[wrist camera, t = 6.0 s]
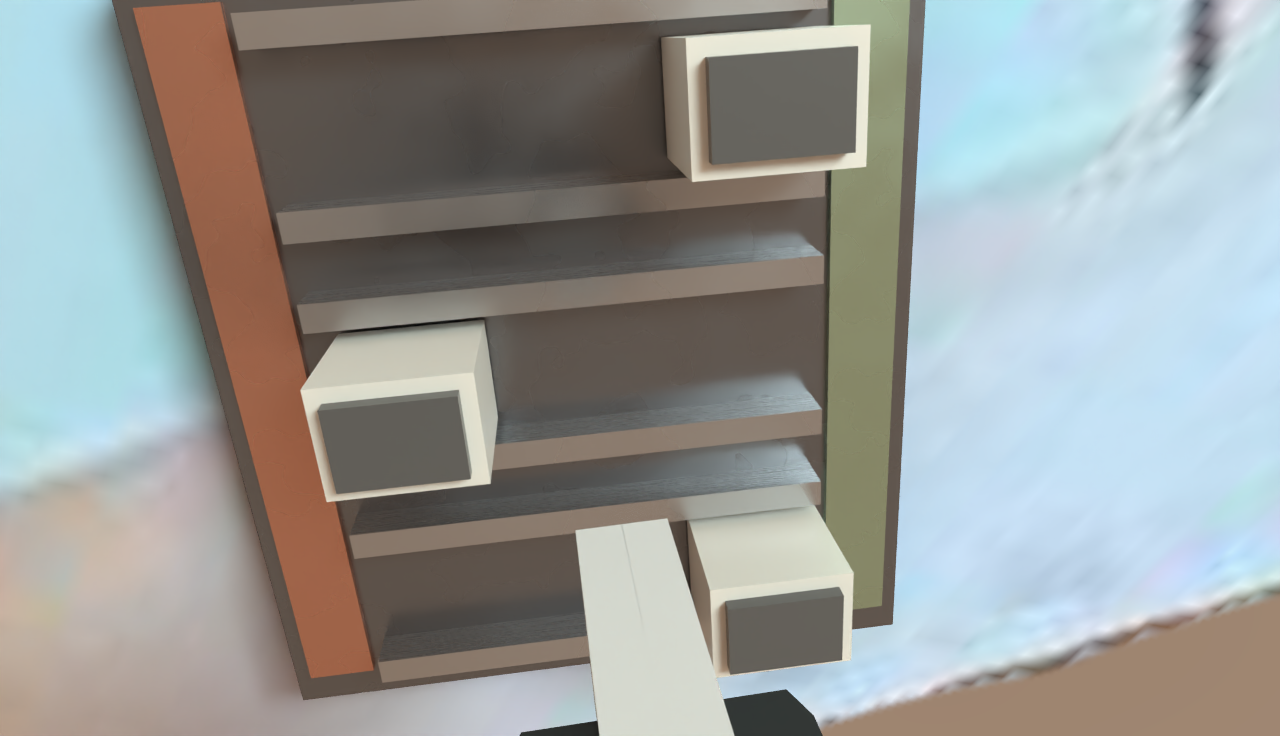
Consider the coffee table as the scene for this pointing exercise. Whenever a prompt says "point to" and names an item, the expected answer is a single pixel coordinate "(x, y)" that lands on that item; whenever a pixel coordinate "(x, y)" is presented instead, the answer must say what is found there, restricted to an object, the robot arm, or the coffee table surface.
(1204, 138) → the coffee table surface
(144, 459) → the coffee table surface
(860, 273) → the panel
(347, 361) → the block
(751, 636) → the block
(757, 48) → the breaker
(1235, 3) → the coffee table surface
